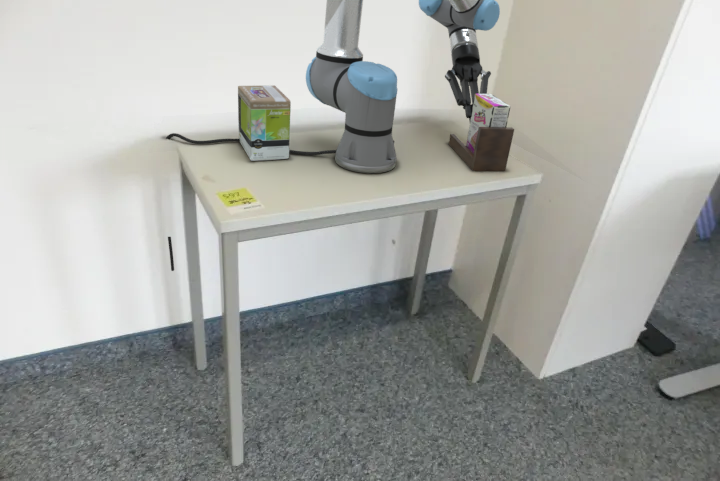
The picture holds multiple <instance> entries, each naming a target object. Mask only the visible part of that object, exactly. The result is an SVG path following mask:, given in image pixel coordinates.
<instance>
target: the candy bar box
mask: <svg viewBox="0 0 720 481" xmlns="http://www.w3.org/2000/svg"><path fill="white" fill-rule="evenodd" d="M510 110H511V105H510V104H508V103H506V102H505V101H503V100H501V99H500V98H499V97H497V96H496V95H494V94H492V93H487V94H480V92H479V93H478V94H475V97H474V103H473V109H472V114H471V120H470V121H469V127H468V133H467V137H466V138H467V140H466V144H465V146H466V147H467V148H468V149H469V150H470V151H471V152H472V153H473V154H474V149H475V144H476V139H477V133H478V128H479V127H508V121H509V116H510Z"/></svg>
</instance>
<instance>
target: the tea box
mask: <svg viewBox="0 0 720 481" xmlns="http://www.w3.org/2000/svg"><path fill="white" fill-rule="evenodd" d="M291 104H292V103H291V100H290V98H289V97H287V95H285V93H283V91H281V90H280V89H279V88H278V87H277V85H237V105H238V106H237V109H238V110H237V112H238V113H237V114H238V116H237V117H238V118H237V119H238V139H240V142H239V143H240V145H241V146H242V148H243V149H244V151H245V153H246V155H247V156H248V158H249V160H250V161H255V162H257V161H272V160H273V161H275V160H286V159H289V158H290V153H289V150H290V141H291V140H290V137H291V110H292V108H291V107H292V106H291Z"/></svg>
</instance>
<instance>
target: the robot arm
mask: <svg viewBox="0 0 720 481" xmlns="http://www.w3.org/2000/svg"><path fill="white" fill-rule="evenodd" d="M363 5H364V0H326V6H325V15H324V16H325V19H324V29H323V30H324V32H323V41H322V42H323V43H322V44H321V45H320V46H318V47H317V48H316V52H315V56H314V57H313V58H312V59H311V62H310V63H308V65H307V68H306V71H305V72H306V73H305V82H306V87H307V90H308V92H309V93H310V95H311V96H312V97H313V98H314V99H316V100H318V101H319V102H320V103H322V104H323V105H326V106H329V107H331V108H333V109H336V110H338V111H340V112H342V113H344V114H345V117H344V129H343V133H342V136H341V138H340V141H339V143H338V145H337V147H336V149H329V150H328V149H327V150H319V151H302V150H293V149H289V154H292V155H300V156H320V155H330V154H332V155H333V154H335V156H334V157H335V158H334V160H335V163H336V164H337V165H338V166H339V167H340V168H343V169H345V170H347V171H351V172H354V173H361V174H382V173H386V172H389V171H391V170H393V169H394V168H395V167H396V166H397V160H398V159H397V153H396V148H395V140H394V139H393V138H394V137H393V128H394V119H395V110H396V104H397V97H398V96H397V94H398V76H397V73H396V72H395V71H394V70H393V69H392V68H390V67H389V66H386V65H384V64H382V63H375V62H373V61H368V60H367V61H366V60H365V61H364V53H363V52H362V51H361V49H360V47H359V42H360V31H361V22H362V14H363ZM418 6H419V9H420V10H421V11H422V12H423V13H424V14H425V16H428V17H430V18H431V19H433V20H434V21H435V22H437V23H439V24H441V25H442V26H443V27H445V28H446V29H447V33H448V39H449V46H450V53H451V54H450V55H451V62H452V67H451V69H448V70H447V71H446V73H445V74H444V78H445V80H447V82H448V83H449V87H450V89H451V91H452V94H453V97H454V100H455V102H456V104H457V106H459V107H461V106H462V109H463V110H464V112H465V118H466V119H469V122H470V120H471V114H472V109H473V103H474V97H475V94H478V93H480V94H488V88H489V87H488V86H489V79H490V77H491V75H492V72H491V71H490V70H487V71H486V70H484V69H483V66H482V64H481V57H480V49H479V44H478V36H477V31H484V32H487V31H491V29H493V28H494V27H495V26H496V24H497V23H498V20H499V19H500V14H501V11H500V9H501V8H500V4H499V2H498V1H497V0H418ZM479 76H480V80H481V81H480V88H479V85H478V78H479ZM458 80H459V81H458ZM174 137H175V138H178V139H181V140H182V141H185V142H187V143H189V144H193V145H209V144H217V143H228V142H229V143H240V139H239V138H217V139H209V140H196V139H195V140H194V139H190V138H188V137H186V136H184V135H183V134H179V133H174V132H173V133H170V134H168V135H167V136H166V137H165V139H167V140H169V139H171V138H174ZM167 241H168V251H169V260H170V270H171V272H174V271H175V262H174V252H173V244H172V242H173V241H172V237H171V236H167Z"/></svg>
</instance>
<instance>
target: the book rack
mask: <svg viewBox="0 0 720 481" xmlns="http://www.w3.org/2000/svg"><path fill="white" fill-rule="evenodd" d="M514 133H515V128H513V127H512V126H511V127H509V126H506V127H479V128H478V133H477V139H476V144H475V149H474V154H473V153H472V152H471V151H470V150H469V149H468V148H467V147H466V144H465V143H464V142H463V141H462V140H461V139H460V138H459V137H458V136H457V135H456V134H455V133H449V139H448V145H449V146H450V148H452V149H453V151H454V152H455V153H456V154H457V155H458V157H459V158H461V160H462V161H464V163H465V164H466V165H467V166H468V167H469V168H470V170H472V172H506V169H507V165H508V160H509V156H510V152H511V147H512V142H513V137H514Z"/></svg>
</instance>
